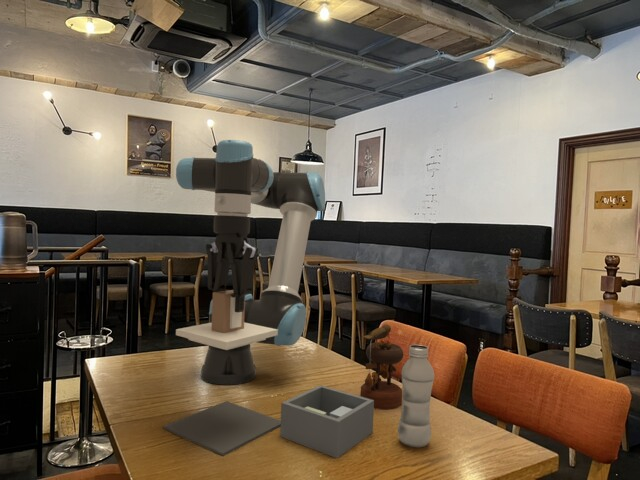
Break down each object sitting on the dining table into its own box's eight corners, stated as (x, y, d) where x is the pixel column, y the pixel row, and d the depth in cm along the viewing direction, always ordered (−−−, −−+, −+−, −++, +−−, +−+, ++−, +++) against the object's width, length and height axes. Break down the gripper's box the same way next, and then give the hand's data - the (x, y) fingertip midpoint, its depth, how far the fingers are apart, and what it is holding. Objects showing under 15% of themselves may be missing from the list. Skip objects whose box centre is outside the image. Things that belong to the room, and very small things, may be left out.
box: (280, 436, 95) (281, 402, 95) (319, 414, 106) (320, 385, 106) (337, 458, 87) (338, 421, 87) (372, 432, 98) (374, 400, 98)
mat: (162, 428, 96) (162, 425, 96) (226, 403, 111) (226, 401, 111) (222, 456, 86) (222, 453, 86) (284, 424, 101) (284, 421, 101)
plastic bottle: (393, 436, 97) (398, 342, 96) (425, 436, 97) (429, 343, 97) (401, 451, 90) (406, 351, 90) (435, 451, 91) (440, 351, 90)
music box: (388, 415, 107) (386, 329, 108) (349, 407, 114) (346, 326, 114) (416, 397, 120) (413, 320, 120) (378, 390, 126) (376, 317, 127)
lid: (175, 339, 96) (177, 291, 95) (228, 328, 108) (230, 285, 108) (226, 353, 87) (228, 300, 87) (277, 339, 99) (279, 292, 99)
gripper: (192, 213, 99) (188, 322, 99) (248, 215, 89) (244, 335, 90) (218, 215, 105) (214, 317, 105) (273, 216, 95) (269, 329, 96)
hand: (228, 325), depth 98 cm, fingers closed on lid, 3 cm apart
